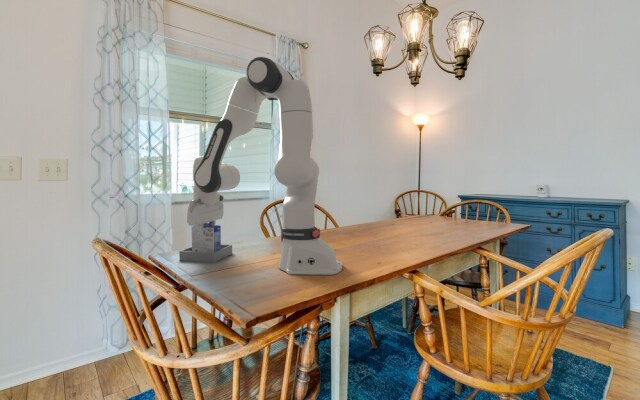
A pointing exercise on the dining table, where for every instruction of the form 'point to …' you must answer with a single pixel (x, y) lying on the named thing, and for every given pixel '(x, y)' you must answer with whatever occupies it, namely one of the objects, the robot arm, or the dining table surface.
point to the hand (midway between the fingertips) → (206, 233)
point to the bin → (205, 254)
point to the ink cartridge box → (206, 238)
